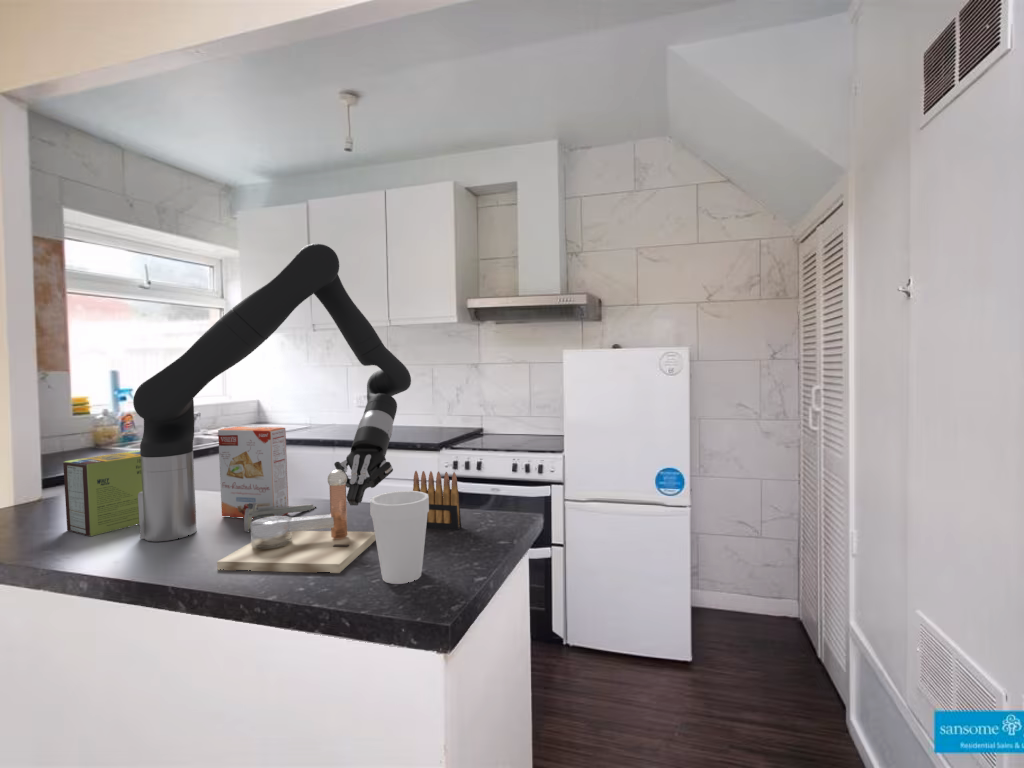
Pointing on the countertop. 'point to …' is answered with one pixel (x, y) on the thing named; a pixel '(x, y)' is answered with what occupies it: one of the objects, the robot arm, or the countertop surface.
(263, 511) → the caliper
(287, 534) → the lever
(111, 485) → the protein box
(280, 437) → the cracker box
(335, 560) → the stand plate
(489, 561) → the countertop surface
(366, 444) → the robot arm
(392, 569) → the foam cup
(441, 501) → the ammunition clip
